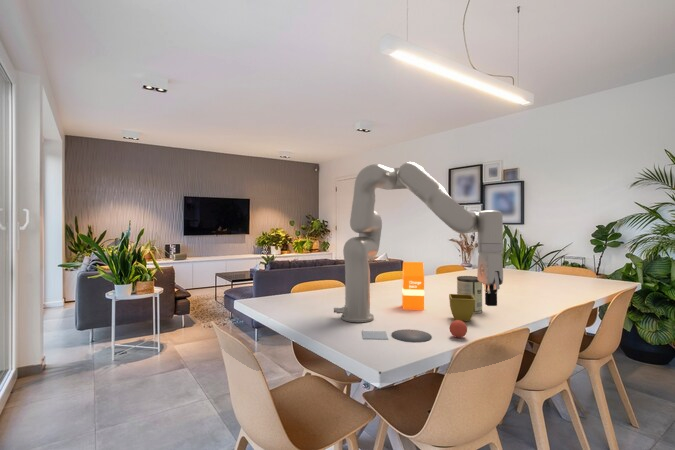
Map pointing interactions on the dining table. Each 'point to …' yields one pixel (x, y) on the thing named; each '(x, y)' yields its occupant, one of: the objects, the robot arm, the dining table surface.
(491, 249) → the robot arm
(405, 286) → the orange juice
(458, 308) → the flower pot
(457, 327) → the ball
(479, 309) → the coffee can
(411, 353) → the dining table surface
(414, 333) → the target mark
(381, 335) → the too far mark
